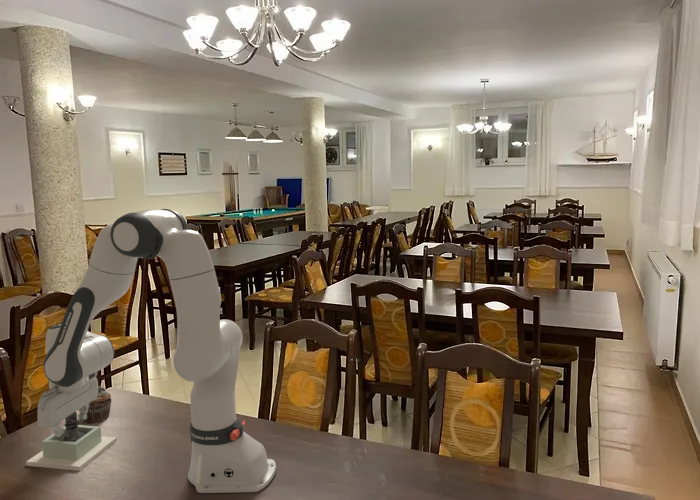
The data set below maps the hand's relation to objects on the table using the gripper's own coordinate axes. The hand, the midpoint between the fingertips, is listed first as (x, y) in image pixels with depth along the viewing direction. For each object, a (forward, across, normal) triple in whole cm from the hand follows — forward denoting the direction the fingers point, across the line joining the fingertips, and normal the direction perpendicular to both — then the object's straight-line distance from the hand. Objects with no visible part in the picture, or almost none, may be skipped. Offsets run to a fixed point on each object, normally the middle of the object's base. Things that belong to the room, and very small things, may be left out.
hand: (71, 427), depth 149 cm
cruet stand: (+8, 0, 0) cm, 8 cm away
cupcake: (+8, +21, +8) cm, 24 cm away
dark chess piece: (+7, 0, 0) cm, 7 cm away
